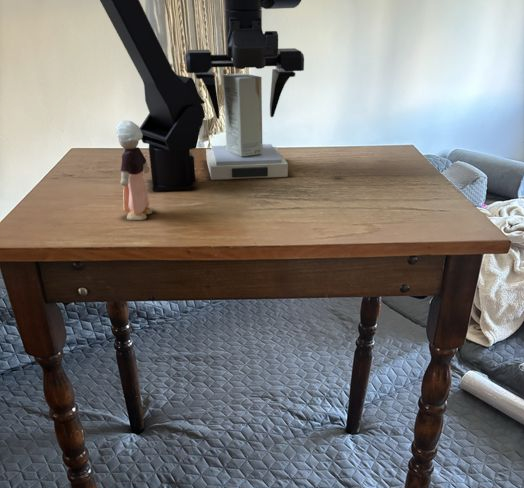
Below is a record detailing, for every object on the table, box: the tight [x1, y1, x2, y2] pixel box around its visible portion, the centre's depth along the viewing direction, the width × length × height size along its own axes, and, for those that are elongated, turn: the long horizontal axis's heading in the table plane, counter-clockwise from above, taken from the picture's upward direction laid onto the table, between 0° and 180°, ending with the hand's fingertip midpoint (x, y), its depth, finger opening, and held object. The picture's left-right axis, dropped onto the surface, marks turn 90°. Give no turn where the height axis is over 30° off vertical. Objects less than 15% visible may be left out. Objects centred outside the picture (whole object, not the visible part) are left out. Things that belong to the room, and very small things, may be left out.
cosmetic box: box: [222, 73, 263, 157], centre depth 95 cm, size 6×4×12 cm
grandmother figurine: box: [115, 119, 153, 221], centre depth 75 cm, size 8×4×13 cm, turn 178°
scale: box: [205, 143, 289, 181], centre depth 98 cm, size 13×12×3 cm
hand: (245, 117), depth 95 cm, fingers open, 9 cm apart
